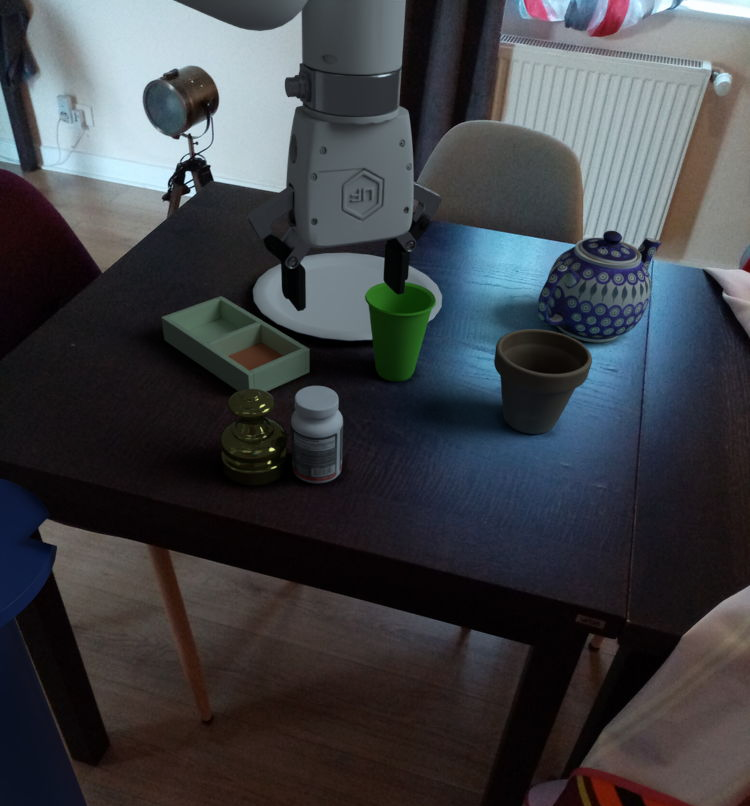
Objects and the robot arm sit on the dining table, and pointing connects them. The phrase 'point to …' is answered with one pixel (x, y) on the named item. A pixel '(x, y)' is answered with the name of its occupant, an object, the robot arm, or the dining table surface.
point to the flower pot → (539, 376)
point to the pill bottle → (316, 435)
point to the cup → (398, 327)
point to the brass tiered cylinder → (253, 440)
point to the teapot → (598, 288)
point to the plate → (332, 296)
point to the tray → (236, 345)
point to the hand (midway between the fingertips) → (345, 295)
